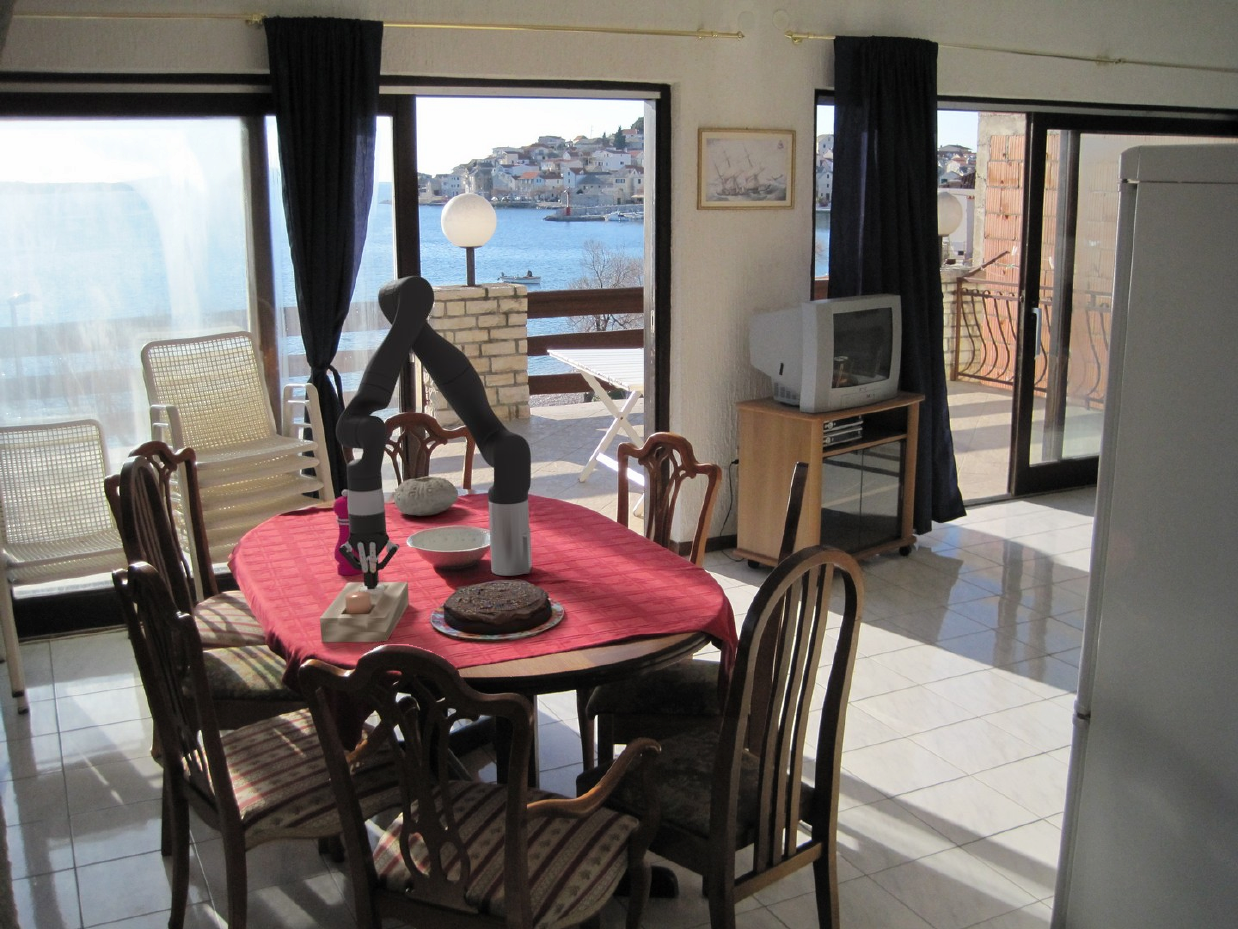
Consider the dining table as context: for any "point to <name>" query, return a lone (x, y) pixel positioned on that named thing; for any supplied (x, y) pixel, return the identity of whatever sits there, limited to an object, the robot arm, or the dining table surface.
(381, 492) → the robot arm
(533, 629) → the chocolate cake
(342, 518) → the pepper mill
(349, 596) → the terracotta button
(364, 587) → the cream button
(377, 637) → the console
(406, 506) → the decorative shell
